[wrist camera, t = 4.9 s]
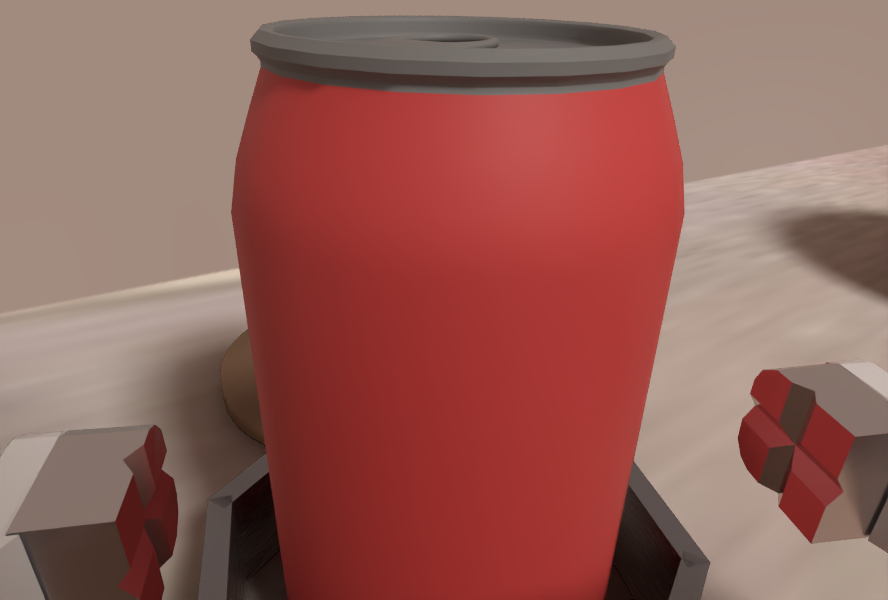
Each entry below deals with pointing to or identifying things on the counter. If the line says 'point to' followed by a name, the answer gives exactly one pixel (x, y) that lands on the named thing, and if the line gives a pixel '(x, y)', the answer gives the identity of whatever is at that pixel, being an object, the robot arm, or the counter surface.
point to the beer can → (454, 296)
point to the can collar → (636, 557)
